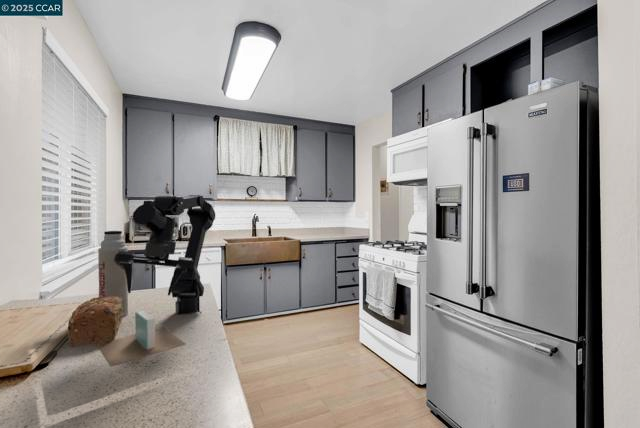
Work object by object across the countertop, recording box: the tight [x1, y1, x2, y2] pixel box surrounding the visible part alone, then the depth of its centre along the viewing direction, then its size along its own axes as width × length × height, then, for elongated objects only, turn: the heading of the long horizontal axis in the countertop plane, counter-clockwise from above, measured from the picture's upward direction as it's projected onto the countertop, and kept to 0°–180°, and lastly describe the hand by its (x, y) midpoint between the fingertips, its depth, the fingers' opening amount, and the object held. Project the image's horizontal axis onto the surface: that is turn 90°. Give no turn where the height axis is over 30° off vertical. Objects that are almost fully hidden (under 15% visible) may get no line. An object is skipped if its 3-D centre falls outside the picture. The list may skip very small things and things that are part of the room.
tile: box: [134, 309, 156, 350], centre depth 79 cm, size 2×9×7 cm, turn 45°
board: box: [96, 326, 187, 367], centre depth 79 cm, size 16×16×1 cm
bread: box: [67, 296, 123, 347], centre depth 87 cm, size 19×11×10 cm, turn 26°
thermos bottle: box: [97, 230, 129, 318], centre depth 104 cm, size 8×8×28 cm
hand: (149, 294), depth 82 cm, fingers open, 9 cm apart
